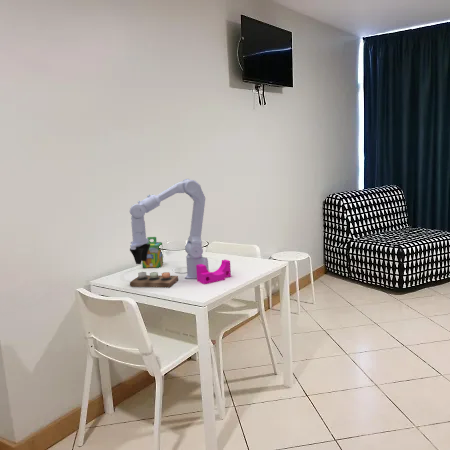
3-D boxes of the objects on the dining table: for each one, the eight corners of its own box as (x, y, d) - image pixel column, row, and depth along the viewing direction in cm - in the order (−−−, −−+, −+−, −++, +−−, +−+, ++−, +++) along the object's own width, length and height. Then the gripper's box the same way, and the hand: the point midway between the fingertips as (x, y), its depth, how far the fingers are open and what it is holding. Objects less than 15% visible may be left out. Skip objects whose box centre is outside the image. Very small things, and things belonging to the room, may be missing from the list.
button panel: (178, 280, 197) (178, 275, 196) (169, 287, 186) (169, 282, 186) (140, 279, 201) (140, 274, 201) (130, 286, 190) (129, 281, 190)
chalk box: (142, 268, 221) (140, 239, 219) (146, 264, 230) (143, 236, 228) (160, 267, 221) (158, 238, 218) (163, 263, 230) (161, 235, 228)
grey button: (147, 275, 196) (147, 271, 195) (144, 277, 192) (144, 274, 192) (140, 275, 197) (140, 271, 196) (136, 277, 193) (136, 274, 193)
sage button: (159, 275, 194) (159, 272, 194) (156, 277, 191) (156, 274, 191) (151, 275, 195) (151, 272, 195) (148, 277, 192) (148, 274, 192)
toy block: (203, 284, 189) (202, 267, 188) (197, 281, 194) (196, 264, 193) (233, 278, 196) (233, 262, 195) (226, 275, 201) (225, 259, 200)
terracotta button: (171, 275, 193) (171, 272, 193) (168, 278, 190) (168, 274, 189) (163, 275, 194) (163, 272, 194) (160, 278, 191) (160, 274, 190)
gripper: (137, 228, 199) (139, 258, 201) (122, 234, 185) (125, 266, 187) (151, 228, 198) (154, 258, 200) (138, 234, 184) (140, 266, 186)
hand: (141, 262), depth 193 cm, fingers open, 5 cm apart
